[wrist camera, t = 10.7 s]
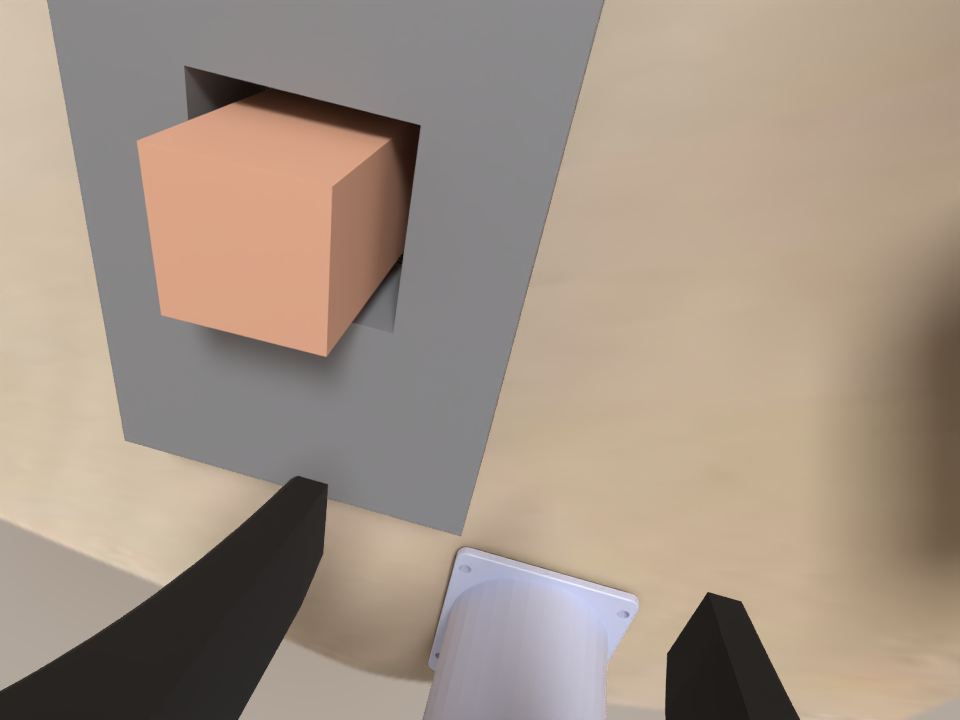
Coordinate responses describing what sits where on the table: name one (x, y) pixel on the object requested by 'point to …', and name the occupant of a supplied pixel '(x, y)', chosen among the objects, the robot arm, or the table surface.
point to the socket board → (408, 286)
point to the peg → (277, 215)
